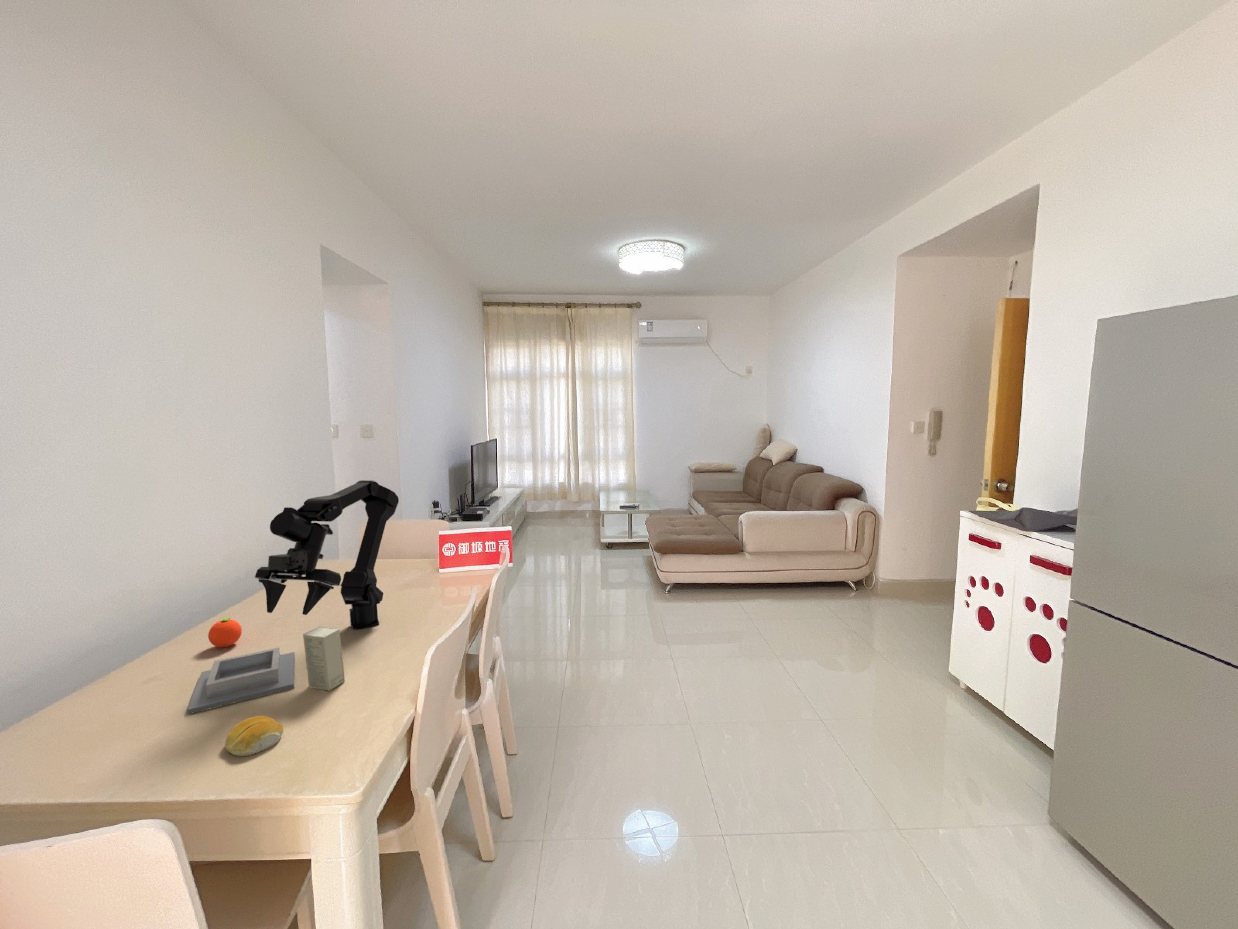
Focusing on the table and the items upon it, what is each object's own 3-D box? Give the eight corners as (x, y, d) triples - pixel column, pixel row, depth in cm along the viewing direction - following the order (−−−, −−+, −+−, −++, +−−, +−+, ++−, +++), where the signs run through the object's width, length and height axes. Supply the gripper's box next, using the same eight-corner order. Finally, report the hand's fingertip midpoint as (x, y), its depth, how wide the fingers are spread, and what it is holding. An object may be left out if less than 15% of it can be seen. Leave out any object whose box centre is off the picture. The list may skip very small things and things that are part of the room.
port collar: (280, 659, 124) (279, 647, 124) (278, 682, 114) (277, 668, 114) (215, 673, 118) (214, 661, 118) (207, 699, 107) (205, 685, 107)
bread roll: (267, 723, 101) (265, 703, 100) (290, 738, 96) (288, 718, 95) (216, 746, 94) (214, 725, 93) (238, 764, 89) (236, 742, 88)
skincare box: (345, 681, 116) (341, 629, 114) (328, 692, 111) (324, 637, 110) (324, 677, 118) (319, 625, 116) (306, 687, 113) (302, 633, 112)
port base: (294, 655, 128) (294, 652, 128) (294, 688, 113) (293, 683, 113) (202, 676, 119) (201, 672, 119) (187, 714, 104) (187, 709, 104)
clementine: (215, 641, 137) (213, 615, 137) (247, 636, 140) (244, 611, 139) (205, 654, 130) (202, 627, 129) (238, 649, 133) (236, 622, 132)
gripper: (248, 536, 120) (222, 605, 114) (320, 539, 117) (297, 609, 111) (283, 549, 130) (261, 613, 124) (350, 552, 127) (331, 617, 121)
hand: (286, 613), depth 120 cm, fingers open, 9 cm apart
